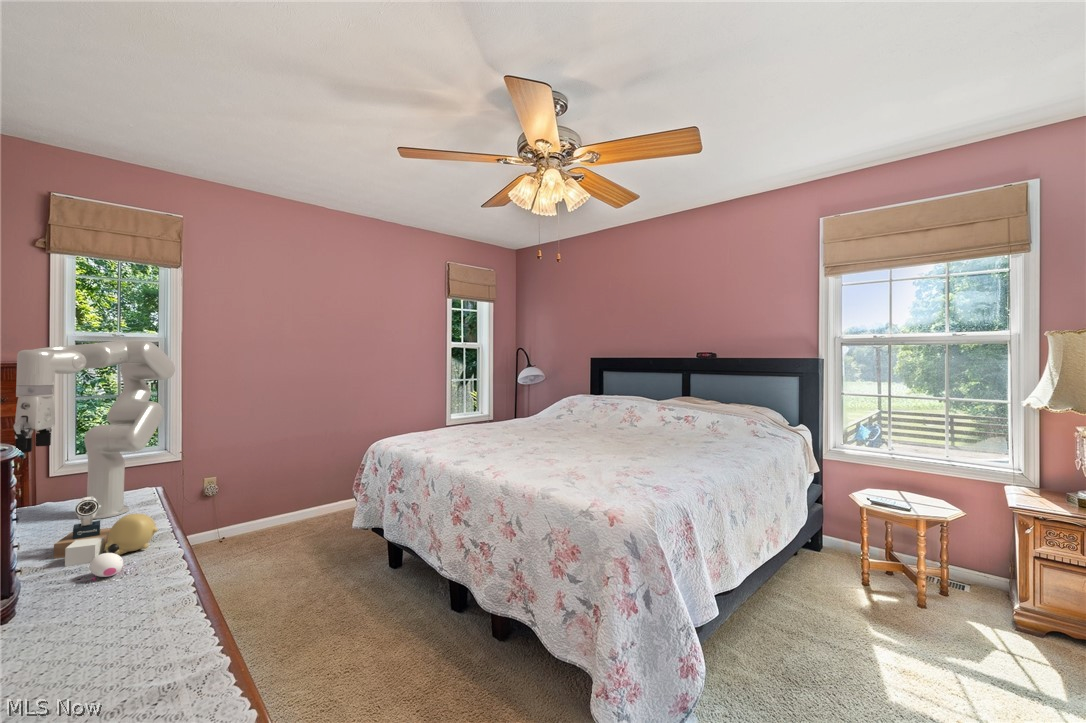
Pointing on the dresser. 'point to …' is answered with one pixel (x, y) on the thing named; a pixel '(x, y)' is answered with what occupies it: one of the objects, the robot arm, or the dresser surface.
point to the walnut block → (67, 540)
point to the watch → (86, 518)
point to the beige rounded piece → (130, 534)
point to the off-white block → (83, 551)
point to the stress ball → (106, 565)
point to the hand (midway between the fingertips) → (33, 448)
